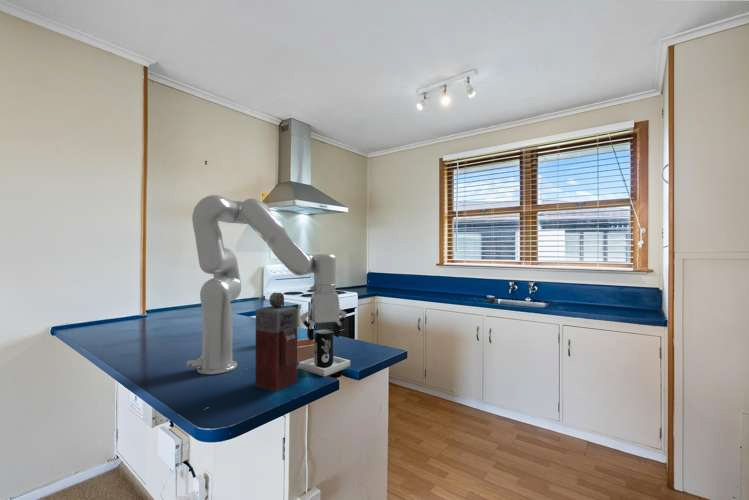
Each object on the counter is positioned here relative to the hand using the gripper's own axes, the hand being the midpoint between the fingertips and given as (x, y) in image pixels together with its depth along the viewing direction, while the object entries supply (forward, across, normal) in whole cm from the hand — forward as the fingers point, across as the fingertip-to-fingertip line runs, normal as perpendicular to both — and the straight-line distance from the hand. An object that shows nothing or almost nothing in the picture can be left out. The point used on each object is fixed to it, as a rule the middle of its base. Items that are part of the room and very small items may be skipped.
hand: (323, 338), depth 120 cm
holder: (+10, -2, +16) cm, 19 cm away
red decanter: (+11, -18, -7) cm, 22 cm away
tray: (+10, 0, 0) cm, 10 cm away
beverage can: (+10, 0, 0) cm, 10 cm away
